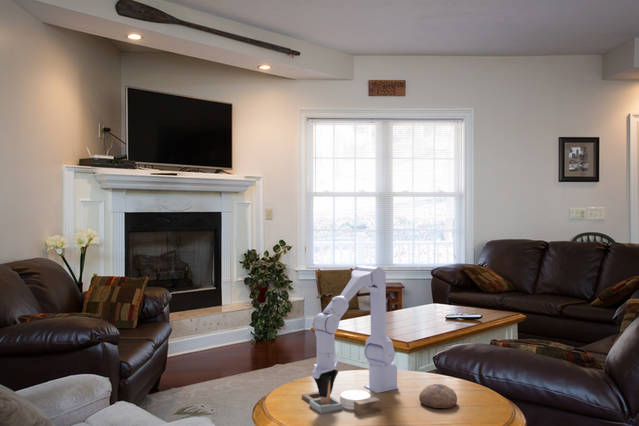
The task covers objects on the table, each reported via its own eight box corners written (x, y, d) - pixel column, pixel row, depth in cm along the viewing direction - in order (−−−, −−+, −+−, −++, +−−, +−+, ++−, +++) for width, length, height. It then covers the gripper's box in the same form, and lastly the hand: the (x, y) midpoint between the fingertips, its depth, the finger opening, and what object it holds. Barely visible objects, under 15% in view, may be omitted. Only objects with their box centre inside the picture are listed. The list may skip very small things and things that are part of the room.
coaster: (376, 403, 174) (376, 392, 174) (361, 413, 166) (361, 402, 166) (349, 397, 180) (349, 387, 180) (334, 407, 172) (333, 396, 172)
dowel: (323, 400, 172) (323, 378, 172) (331, 401, 170) (331, 379, 170) (319, 403, 169) (319, 381, 169) (327, 404, 168) (327, 382, 168)
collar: (320, 394, 183) (320, 391, 182) (330, 401, 176) (330, 397, 176) (301, 398, 179) (301, 394, 179) (311, 404, 173) (311, 401, 173)
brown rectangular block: (375, 407, 170) (375, 396, 170) (381, 411, 167) (381, 399, 167) (354, 412, 166) (354, 401, 166) (359, 415, 164) (359, 404, 164)
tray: (330, 402, 175) (330, 396, 175) (342, 410, 168) (342, 403, 168) (309, 406, 171) (309, 400, 171) (320, 414, 165) (320, 408, 165)
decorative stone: (443, 411, 165) (442, 393, 165) (412, 402, 174) (411, 385, 174) (464, 401, 173) (463, 384, 173) (433, 393, 182) (432, 377, 182)
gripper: (324, 345, 178) (324, 386, 178) (303, 355, 165) (303, 400, 165) (343, 347, 175) (343, 389, 175) (324, 358, 162) (324, 403, 162)
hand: (325, 394), depth 170 cm, fingers closed on dowel, 3 cm apart
